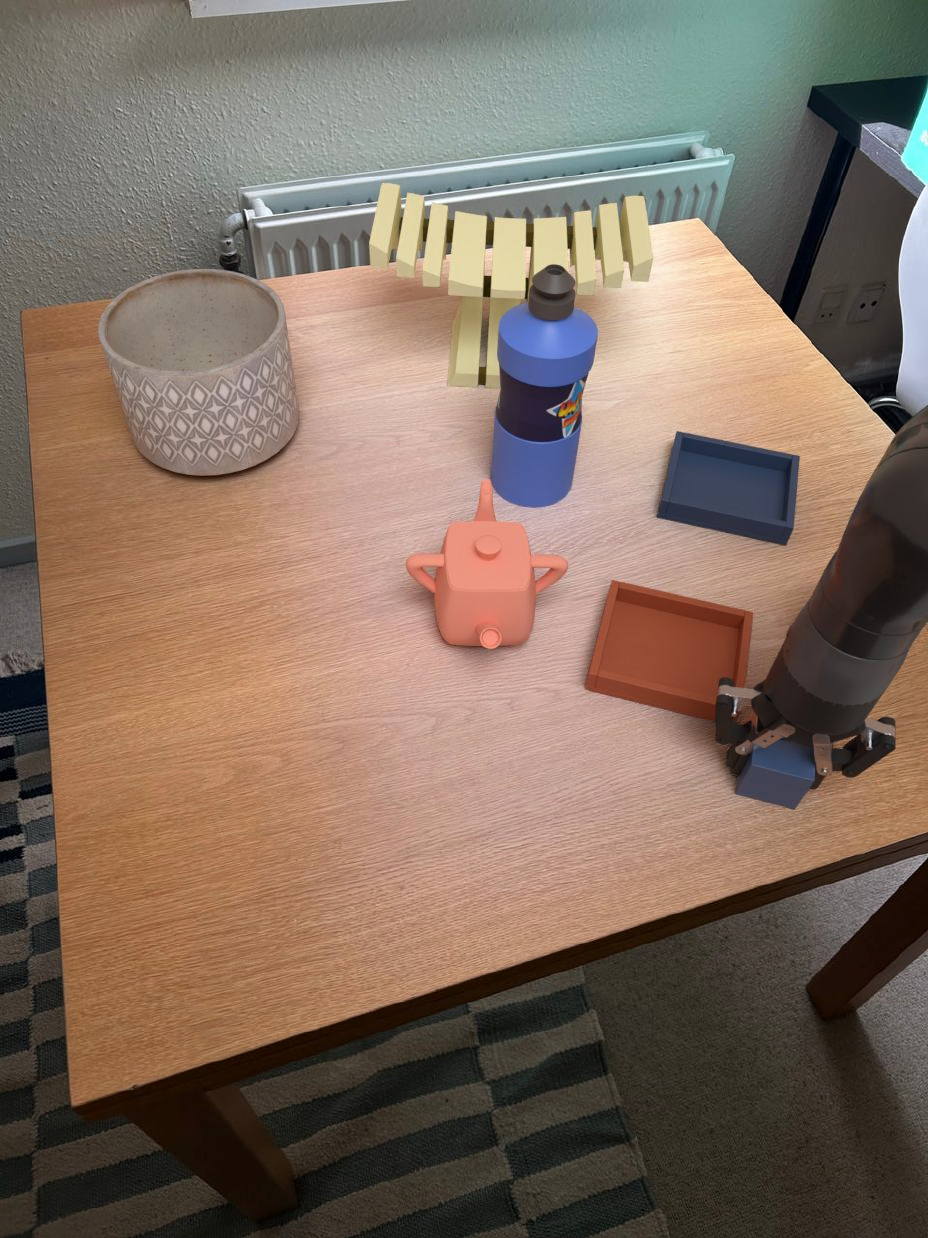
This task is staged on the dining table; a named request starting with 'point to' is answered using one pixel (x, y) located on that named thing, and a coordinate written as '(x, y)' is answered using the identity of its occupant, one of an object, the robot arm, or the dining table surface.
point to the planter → (202, 370)
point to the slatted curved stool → (504, 262)
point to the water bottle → (541, 391)
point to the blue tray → (731, 488)
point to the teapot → (486, 579)
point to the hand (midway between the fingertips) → (768, 774)
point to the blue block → (778, 774)
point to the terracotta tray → (668, 650)
